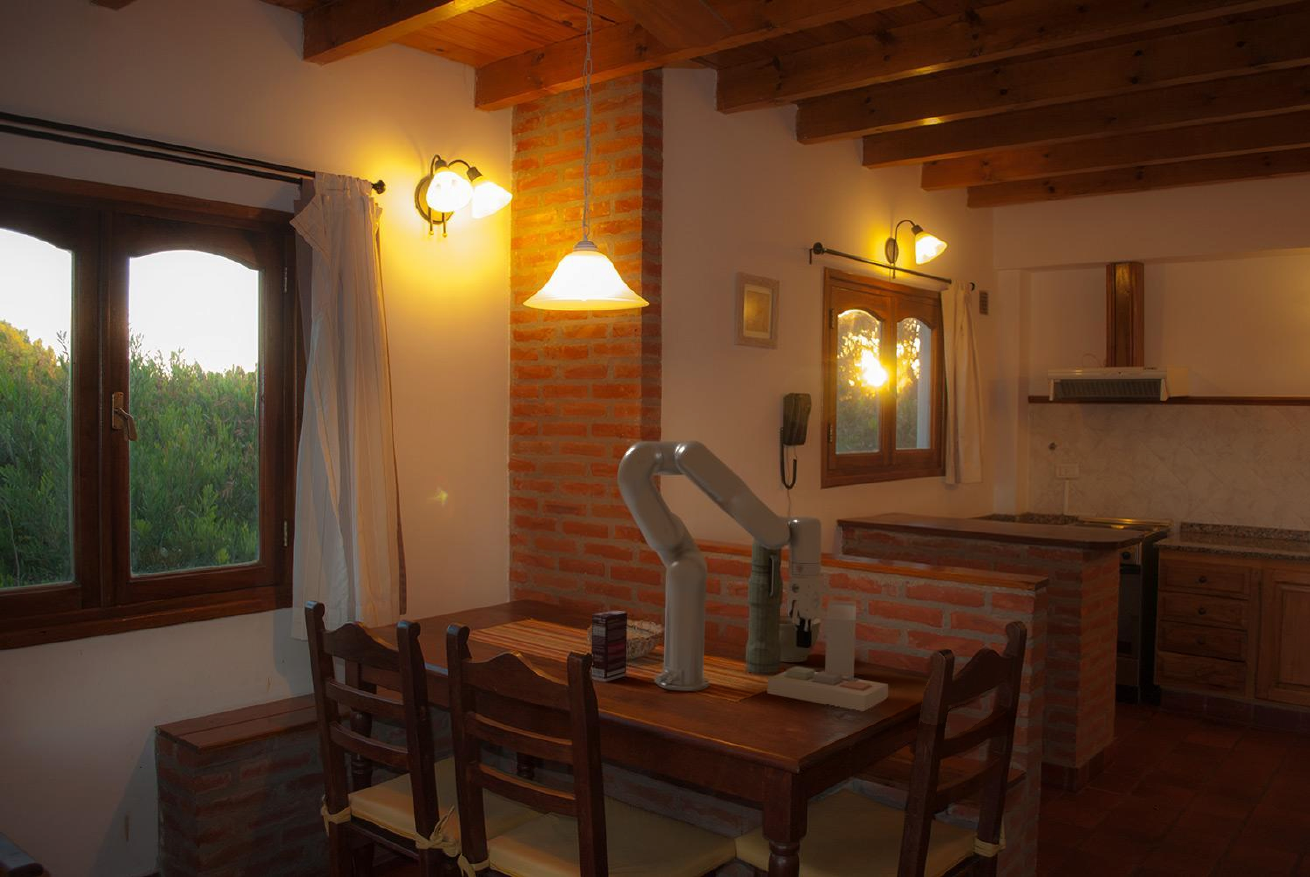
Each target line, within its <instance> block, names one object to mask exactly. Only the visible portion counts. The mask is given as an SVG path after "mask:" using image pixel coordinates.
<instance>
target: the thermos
mask: <svg viewBox="0 0 1310 877" xmlns="http://www.w3.org/2000/svg"><path fill="white" fill-rule="evenodd" d="M782 549H783V548H781V549H779V550H770V549H767V548H765V547H764V546H763V545H761V544H760V543H759V542H758V541H757V540H756V539H755V538H754V539H753V543H752V545H751V572H750V573H751V574H750V577H749V579H748V586H747V588H748V589H747V590H748V591H747V593H748V594H747V602H748V606H749V610H748V611H749V612H748V639H747V642H746V645H745V663H746V667H745V671H746V670H747V671H749V672H751V673H750V674H752V673H754V674H753V675H758V674H762V675H761V676H772V675H771V674H775V675H777V674H776V673H778V674H780V670H781V669H780V664H781V662H782V661H781V644H780V641H779V629H780V615H781V607H782V605H783V595H784V594H783V590H784V587H783V586H784V582H783V579H782V575H781V574H782V571H781V566H782ZM747 671H746V672H747ZM749 672H748V673H749Z"/></svg>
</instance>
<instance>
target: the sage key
mask: <svg viewBox="0 0 1310 877" xmlns="http://www.w3.org/2000/svg"><path fill="white" fill-rule="evenodd" d="M785 672H786V677H788V678H794V679H799V680H805V681H807V680H810V679H812V678H813V676H814V674H815V672H816V669H813V668H809V667H808V668H807V667H802V666H796V665H795V666H793V667H790V668H787V669H786V670H785Z"/></svg>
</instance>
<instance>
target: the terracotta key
mask: <svg viewBox="0 0 1310 877" xmlns="http://www.w3.org/2000/svg"><path fill="white" fill-rule="evenodd" d="M841 687H844V688H849V689H855V690H861V691H864V690H866V689H868V688H870V687H871V684H867V683H861V682H855V681H848V682H846V683H844V684H842V685H841Z"/></svg>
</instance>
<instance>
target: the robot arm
mask: <svg viewBox="0 0 1310 877" xmlns="http://www.w3.org/2000/svg"><path fill="white" fill-rule="evenodd" d="M654 476H684V477H686V478H687V479H688V480H689V481H690V482H691V483H692V484H694V486H696V488H698V490H700V491H701V492H702V493H704V495H705V496H707V497H708V498H709V499H710V500H711V501H712V502H713V503H714V504H716V506H717V507H719V508H720V509H721V510H722V511H723V512H724V513H725V514H727V515H728V516H730V518H732V520H734V521H735V522H736V523H737V524H738V525H739V526H740V527H742V528H743V529H744V530H745V531H746V532H747V533H748V534H749V535H751V536H752V538H754V539H756V540H757V541H758V542H759V543H760V544H761V545H763V546H764V547H765V548H767V549H770V550H779V549H781V548H782V549H783V548H785V546H788V576H789V582H788V593H787V594H788V595H787V596H788V597H787V615H789V617H790V618H792V624H793V625H795V626H796V630H797V631H796V646H797V647H801V648H810V647H811V646H812V628H813V621H814V620H815V619H817V617H820V616H821V615H822V614H823V613H824V604H823V602H824V601H823V598H824V597H823V585H822V578H821V575H822V522H821V520H820V519H818V518H817V517H811V516H810V517H809V516H797V517H787V516H781V515H777V514H776V512H774V511H773V510H772V509H771V508H769V507H768V506H767V505H766V504H765V503H764V502H763V501H762V500H761V499H760V498H759V497H758V496H757V495H756V494H755V492H753V491H752V490H751V489H750V487H749V486H748V485H747V483H746V482H745V481H744V480H743V479H742V478H741V477H740V476H738V475H737V473H735V472H734V471H733V470H732V469H731V468H729V466H727V465H726V464H725V463H724V462H723V461H722V460H721V459H720V458H719V457H718V456H717V455H716V454H714V453H713V452H712V450H710V449H709V448H708V447H706V444H703V443H702V442H700V441H698V440H683V441H682V440H681V441H678V440H677V441H651V440H649V441H645V440H644V441H643V440H642V441H637V442H636V443H634V444H632V445H631V446H630V447H629V448H628V449H627V450H626V452H625V454H624V455H623V457H622V459H621V461H620V463H619V466H618V470H617V486H618V487H617V488H618V491H619V493H620V495H621V498H622V500H623V502H624V503H625V505H626V506H627V509H628V511H629V512H630V514H631V516H632V518H633V520H634V521H635V524H636V525H637V527H638V529H639V530H640V532H641V534H642V535H643V538H644V540H645V542H646V545H648V546H649V548H650V549H651V550H653V551H655V552H656V553H657V555H658V557H659V558H660V561H661V562H662V564H663V565H664V566H665V568H666V572H665V607H664V608H665V609H664V613H665V614H664V648H663V649H664V650H663V666H662V669H661V670H662V672H661V673H658V674H656V675H654V677H653V681H654V683H656V685H657V686H658V687H660V688H663V689H667V690H669V691H670V690H671V691H678V692H694V691H695V692H696V691H701V690H705V689H708V688H709V687H710V680H709V679H708V678H706V677H704V663H705V662H704V661H705V660H704V657H705V656H704V655H705V630H706V629H705V628H706V596H707V594H706V593H707V591H706V590H707V580H708V579H707V578H708V577H707V576H708V565H707V561H706V558H705V556H704V555H703V554H702V551H701V550H700V549H699V546H698V545H697V543H696V542H695V540H694V538H693V536H692V535H691V533H690V532H689V530H688V528H687V526H686V525H685V523H684V522H683V520H682V518H680V516H678V515H677V513H673V512H672V511H671V510H670V508H669V506H668V504H667V503H666V501H665V500H664V498H663V495H662V494H661V492H660V491H659V490H658V489H659V488H657V486H656V483H655V481H654ZM799 616H801V617H799Z"/></svg>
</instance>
